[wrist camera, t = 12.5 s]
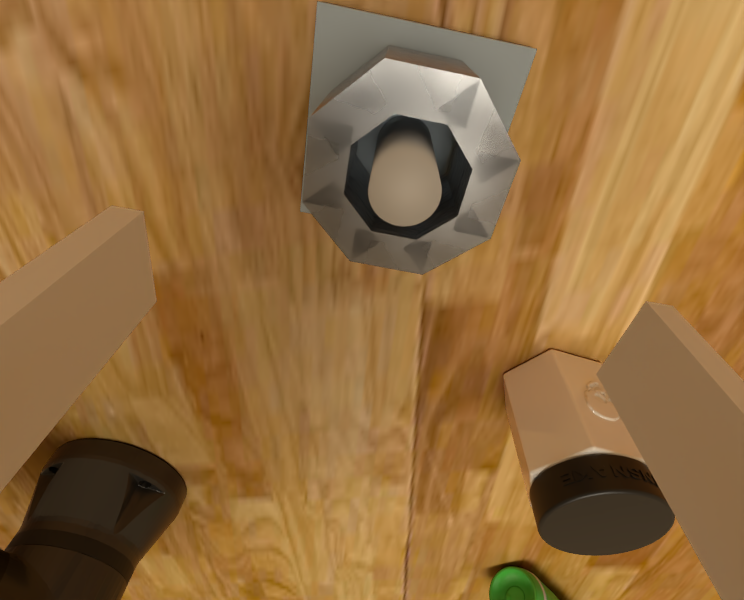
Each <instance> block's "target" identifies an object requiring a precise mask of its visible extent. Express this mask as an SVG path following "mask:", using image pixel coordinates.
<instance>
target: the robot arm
mask: <svg viewBox="0 0 744 600" xmlns="http://www.w3.org/2000/svg"><path fill="white" fill-rule="evenodd" d="M156 302H157V300H156V293H155V286H154V279H153V272H152V266H151V259H150V252H149V245H148V238H147V231H146V225H145V218H144V211H140V210H134V209H128V208H123V207H117V206H110V207H109V208H107V209H106V210H104V211H103V212H101V213H100V214H99V215H97V216H96V217H94V218H93V219H91V220H90V221H88V222H87V223H85V224H84V225H83V226H81V227H80V228H78V229H77V230H75V231H74V232H72V233H71V234H70V235H68V236H67V237H65V238H64V239H62V240H61V241H59V242H58V243H56V244H55V245H54V246H52V247H51V248H49V249H48V250H46V251H45V252H43V253H42V254H41V255H39V256H38V257H36V258H35V259H33V260H32V261H30V262H29V263H27V264H26V265H25V266H23V267H22V268H20V269H19V270H17V271H16V272H14V273H13V274H12V275H10V276H9V277H7V278H6V279H4V280H3V281H1V282H0V493H1V491H2V490H3V489H4V488H5V486H6V485H7V484H8V483H9V482H10V480H11V479H12V478H13V477H14V475H15V474H16V473H17V472H18V470H19V469H20V468H21V467H22V466H23V464H24V463H25V462H26V461H27V459H28V458H29V457H30V456H31V455H32V453H33V452H34V451H35V450H36V448H37V447H38V446H39V445H40V444H41V442H42V441H43V440H44V439H45V437H46V436H47V435H48V434H49V433H50V431H51V430H52V429H53V428H54V426H55V425H56V424H57V423H58V422H59V420H60V419H61V418H62V417H63V415H64V414H65V413H66V412H67V411H68V409H69V408H70V407H71V406H72V404H73V403H74V402H75V401H76V399H77V398H78V397H79V396H80V395H81V393H82V392H83V391H84V390H85V388H86V387H87V386H88V385H89V384H90V382H91V381H92V380H93V379H94V377H95V376H96V375H97V374H98V373H99V371H100V370H101V369H102V368H103V366H104V365H105V364H106V363H107V362H108V360H109V359H110V358H111V357H112V355H113V354H114V353H115V352H116V351H117V349H118V348H119V347H120V346H121V344H122V343H123V342H124V341H125V339H126V338H127V337H128V336H129V335H130V333H131V332H132V331H133V330H134V328H135V327H136V326H137V325H138V324H139V322H140V321H141V320H142V319H143V317H144V316H145V315H146V314H147V313H148V311H149V310H150V309H151V308H152V306H153V305H154V304H155V303H156ZM596 375H597V376H598V378H599V380H600V382H601V384H602V385H603V387H604V389H605V391H606V393H607V394H608V396H609V398H610V400H611V402H612V403H613V405H614V407H615V409H616V411H617V412H618V414H619V416H620V418H621V420H622V421H623V423H624V425H625V427H626V429H627V430H628V432H629V434H630V436H631V438H632V439H633V441H634V443H635V445H636V447H637V448H638V450H639V452H640V454H641V456H642V457H643V459H644V461H645V463H646V465H647V466H648V468H649V470H650V472H651V474H652V475H653V477H654V479H655V481H656V483H657V484H658V486H659V488H660V490H661V492H662V493H663V495H664V497H665V499H666V501H667V502H668V504H669V506H670V508H671V510H672V511H673V513H674V515H675V517H676V519H677V520H678V522H679V524H680V526H681V528H682V529H683V531H684V533H685V535H686V537H687V538H688V540H689V542H690V544H691V546H692V547H693V549H694V551H695V553H696V555H697V556H698V558H699V560H700V562H701V563H702V565H703V567H704V569H705V571H706V572H707V574H708V576H709V578H710V580H711V581H712V583H713V585H714V587H715V589H716V590H717V592H718V594H719V596H720V598H721V599H722V600H744V381H743V380H742V379H741V378H740V377H739V376H738V374H737V373H736V372H735V371H734V370H733V369H732V368H731V367H730V366H729V365H728V364H727V363H726V362H725V361H724V360H723V359H722V358H721V356H720V355H719V354H718V353H717V352H716V351H715V350H714V349H713V348H712V347H711V346H710V345H709V344H708V343H707V342H706V341H705V340H704V338H703V337H702V336H701V335H700V334H699V333H698V332H697V331H696V330H695V329H694V328H693V327H692V326H691V325H690V324H689V323H688V321H687V320H686V319H685V318H684V317H683V316H682V315H681V314H680V313H679V312H678V311H677V310H676V309H675V308H674V307H673V306H670V305H664V304H659V303H653V302H648V301H646V302H645V303H644V305H643V306H642V308H641V309H640V311H639V312H638V314H637V315H636V317H635V318H634V319H633V321H632V322H631V324H630V325H629V327H628V328H627V330H626V331H625V333H624V334H623V336H622V337H621V338H620V340H619V341H618V343H617V344H616V346H615V347H614V349H613V350H612V352H611V353H610V355H609V356H608V357H607V359H606V360H605V362H604V363H603V365H602V366H601V368H600V369H599V371H598V372H597V374H596ZM185 497H186V487H185V484H184V482H183V480H182V478H181V477H180V476H179V475H178V473H177V472H176V471H175V470H174V469H173V468H171V467H170V466H169V465H168V464H166V463H165V462H164V461H162V460H160V459H159V458H157V457H155V456H154V455H152V454H150V453H148V452H145V451H143V450H141V449H138V448H135V447H133V446H129V445H126V444H122V443H118V442H114V441H108V440H99V439H83V440H76V441H72V442H69V443H66V444H64V445H62V446H61V447H59V448H58V449H57V450H56V452H55V453H54V454H53V456H52V457H51V458H50V459H49V461H48V462H47V463H46V465H45V466H44V468H43V469H42V471H41V474H40V476H39V479H38V482H37V485H36V487H35V490H34V493H33V496H32V499H31V501H30V504H29V507H28V510H27V512H26V515H25V518H24V521H23V523H22V526H21V528H20V530H19V531H18V532H17V534H16V535H15V537H14V538H13V539H12V541H11V542H10V544H9V545H8V546H7V548H6V549H5V550H4V551H3V550H1V549H0V600H121V598H122V596H123V593H124V591H125V589H126V587H127V585H128V582H129V580H130V578H131V576H132V574H133V572H134V570H135V568H136V566H137V564H138V563H139V561H140V560H141V559H142V558H143V557H144V555H145V554H146V553H147V552H148V551H149V549H150V548H151V547H152V546H153V545H154V543H155V542H156V541H157V540H158V539H159V537H160V536H161V535H162V534H163V532H164V531H165V530H166V529H167V528H168V526H169V525H170V524H171V523H172V522H173V521H174V519H175V518H176V516H177V515H178V513H179V510H180V508H181V506H182V504H183V501H184V499H185Z"/></svg>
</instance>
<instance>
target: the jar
mask: <svg viewBox="0 0 744 600" xmlns="http://www.w3.org/2000/svg"><path fill="white" fill-rule="evenodd" d="M601 366H602V364H601V363H600V362H596V361H592V360H589V359H585V358H582V357H578V356H575V355H571V354H568V353H564V352H561V351H557V350H554V349H550V350H548V351H546V352H544V353H543V354H541V355H539V356H537V357H535V358H533V359H531V360H529V361H527V362H525V363H524V364H522V365H520V366H518V367H516V368H514V369H512V370H510V371H508V372H506V373H505V374H504V375H503V379H504V392H505V406H506V412H507V416H508V420H509V424H510V428H511V432H512V436H513V439H514V443H515V447H516V451H517V455H518V459H519V463H520V467H521V471H522V475H523V479H524V483H525V487H526V491H527V495H528V498H529V502H530V506H531V507H532V509H533V513H534V517H535V520H536V524H537V528H538V532H539V534H540V536H541V537H542V539H543V540H544V541H545V542H546V543H548V544H549V545H551V546H552V547H554V548H556V549H559V550H562V551H565V552H568V553H573V554H579V555H611V554H618V553H624V552H628V551H632V550H636V549H639V548H642V547H644V546H647V545H649V544H651V543H653V542H655V541H657V540H658V539H660V538H661V537H663V536H664V535H665V534H666V533H667V532H668V531H669V530H670V529H671V527H672V525H673V523H674V520H675V515H674V513H673V511H672V510H671V508H670V506H669V504H668V502H667V501H666V499H665V497H664V495H663V493H662V492H661V490H660V488H659V486H658V484H657V483H656V481H655V479H654V477H653V475H652V474H651V472H650V470H649V468H648V466H647V465H646V463H645V461H644V459H643V457H642V456H641V454H640V452H639V450H638V448H637V447H636V445H635V443H634V441H633V439H632V438H631V436H630V434H629V432H628V430H627V429H626V427H625V425H624V423H623V421H622V420H621V418H620V416H619V414H618V412H617V411H616V409H615V407H614V405H613V403H612V402H611V400H610V398H609V396H608V394H607V393H606V391H605V389H604V387H603V385H602V384H601V382H600V380H599V378H598V376H597V375H596V374H597V372H598V371H599V369H600V368H601Z"/></svg>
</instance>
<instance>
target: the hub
mask: <svg viewBox="0 0 744 600" xmlns="http://www.w3.org/2000/svg"><path fill="white" fill-rule="evenodd" d="M393 114H398V115H403V116H408V117H413V118H418V119H423V120H427V121H432V122H437V123H442V124H447V125H448V126H449V128H450V130H451V132H452V133H453V135H454V137H455V139H456V140H455V144H454V147H453V151H452V154H451V158H450V161H449V165H448V168H447V172H446V173H444V174H443V175H441V176H440V181H441V186H442V194H441V199H440V202H439V205H438V207H437V209H436V210H435V211H434V213H433V214H432V215H431V216H430V217H429V218H427V219H426V220H425V221H423V222H421V223H419V224H416V225H412V226H396V225H392V224H390V223H388V222H386V221H384V220H383V219H381V218H380V217H379V216H378V215H377V214H376V213H375V212H374V210H373V208H372V206H371V204H370V201H369V197H368V187H369V181H370V176H371V175H370V174H369V172H368V171H367V169H366V168H365V167H364V165H363V164H362V162H361V161H360V159H359V158H358V156H357V155H356V151H357V145H358V140H359V139H360V138H361V137H363V136H364V135H366V134H367V133H368V132H370V131H371V130H373V129H374V128H375V127H377V126H378V125H379V124H381V123H382V122H384V121H385V120H386V119H388V118H389V117H391V116H392V115H393ZM520 161H521V160H520V158H519V156H518V154H517V152H516V150H515V148H514V146H513V144H512V142H511V139H510V137H509V135H508V133H507V131H506V129H505V127H504V125H503V123H502V121H501V119H500V117H499V115H498V113H497V111H496V109H495V107H494V105H493V103H492V101H491V99H490V96H489V94H488V92H487V90H486V88H485V86H484V84H483V82H482V80H481V78H480V77H479V76H478V75H476V74H475V73H474V72H473V71H472V70H471V69H470V68H469V67H468V66H467V65H466V64H465V63H464V62H463V61H462V60H457V59H453V58H448V57H443V56H439V55H434V54H429V53H425V52H420V51H415V50H411V49H406V48H402V47H397V46H392V45H388V46H387V47H386V48H385V49H383V50H382V51H381V52H380V53H378V54H377V55H376V56H374V57H373V58H372V59H371V60H369V61H368V62H367V63H366V64H364V65H363V66H362V67H361V68H359V69H358V70H357V71H356V72H354V73H353V74H352V75H351V76H349V77H348V78H347V79H346V80H344V81H343V82H342V83H341V84H339V85H338V86H337V87H336V88H334V89H333V90H332V91H330V93H329V94H328V95H327V96H326V98H325V99H324V100H323V101H322V102H321V104H320V105H319V106H318V107H317V109H316V110H315V111H314V112H313V113H312V115H311V116H310V117H309V127H308V138H307V150H306V162H305V174H304V185H303V197H302V203H303V204H304V205H305V206H306V208H307V209H308V210H309V211H310V212H311V214H312V215H313V216H314V217H315V219H316V220H317V221H318V222H319V224H320V225H321V226H322V227H323V228H324V230H325V231H326V232H327V233H328V235H329V236H330V237H331V238H332V240H333V241H334V242H335V243H336V244H337V246H338V247H339V248H340V249H341V251H342V252H343V253H344V254H345V256H346V257H347V258H348V259H349V260H350V261H352V262H358V263H363V264H368V265H374V266H379V267H384V268H390V269H395V270H401V271H406V272H411V273H417V274H425V273H426V272H428V271H430V270H432V269H434V268H436V267H438V266H440V265H441V264H443V263H445V262H447V261H449V260H451V259H453V258H455V257H457V256H458V255H460V254H462V253H464V252H466V251H468V250H470V249H472V248H473V247H475V246H477V245H479V244H481V243H483V242H485V241H487V240H489V239H490V238H491V236H492V233H493V231H494V228H495V226H496V223H497V221H498V218H499V215H500V213H501V210H502V208H503V205H504V202H505V200H506V197H507V195H508V192H509V190H510V187H511V184H512V182H513V179H514V177H515V174H516V172H517V169H518V166H519V164H520Z"/></svg>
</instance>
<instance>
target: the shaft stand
mask: <svg viewBox="0 0 744 600" xmlns="http://www.w3.org/2000/svg"><path fill="white" fill-rule="evenodd" d="M388 45H392V46H397V47H402V48H406V49H411V50H415V51H420V52H425V53H429V54H434V55H439V56H443V57H448V58H453V59H457V60H462V61H463V62H464V63H465V64H466V65H467V66H468V67H469V68H470V69H471V70H472V71H473V72H474V73H475V74H476V75H478V76H479V77H480V78H481V80H482V82H483V84H484V86H485V88H486V90H487V92H488V94H489V96H490V99H491V101H492V103H493V105H494V107H495V109H496V111H497V113H498V115H499V117H500V119H501V121H502V123H503V125H504V127H505V129H506V131H507V133H508V130H509V128H510V125H511V122H512V119H513V116H514V113H515V111H516V108H517V105H518V102H519V99H520V96H521V94H522V91H523V88H524V85H525V82H526V79H527V77H528V74H529V71H530V68H531V65H532V62H533V60H534V57H535V54H536V51H537V49H535V48H532V47H529V46H524V45H520V44H515V43H511V42H506V41H501V40H497V39H492V38H488V37H483V36H478V35H474V34H469V33H465V32H460V31H455V30H451V29H446V28H442V27H437V26H432V25H428V24H423V23H419V22H414V21H409V20H405V19H400V18H396V17H391V16H386V15H382V14H377V13H373V12H368V11H363V10H359V9H354V8H350V7H345V6H340V5H336V4H331V3H327V2H320V1H317V12H316V24H315V37H314V49H313V61H312V73H311V86H310V98H309V110H308V122H307V135H306V147H305V159H304V172H303V184H302V196H301V208H300V212H305V213H311V212H310V211H309V210H308V209H307V208H306V206H305V205H304V204H303V203H302V197H303V185H304V174H305V162H306V150H307V138H308V127H309V117H310V116H311V115H312V113H313V112H314V111H315V110H316V109H317V107H318V106H319V105H320V104H321V102H322V101H323V100H324V99H325V98H326V96H327V95H328V94H329V93H330V91H332V90H333V89H334V88H336V87H337V86H338V85H339V84H341V83H342V82H343V81H344V80H346V79H347V78H348V77H349V76H351V75H352V74H353V73H354V72H356V71H357V70H358V69H359V68H361V67H362V66H363V65H364V64H366V63H367V62H368V61H369V60H371V59H372V58H373V57H374V56H376V55H377V54H378V53H380V52H381V51H382V50H383V49H385V48H386V47H387V46H388ZM455 140H456V139H455V137H454V135H453V133H452V132H451V130H450V128H449V126H448V125H447V124H442V123H437V122H432V121H427V120H423V119H418V118H413V117H408V116H403V115H398V114H393V115H392V116H391V117H389V118H388V119H386V120H385V121H384V122H382V123H381V124H379V125H378V126H377V127H375V128H374V129H373V130H371V131H370V132H368V133H367V134H366V135H364V136H363V137H361V138H360V139H359V140H358V145H357V151H356V155H357V156H358V158H359V159H360V161H361V162H362V164H363V165H364V167H365V168H366V169H367V171H368V172H369V174H370V175H371V176H370V181H369V187H368V197H369V201H370V204H371V206H372V208H373V210H374V212H375V213H376V214H377V215H378V216H379V217H380V218H381V219H383V220H384V221H386V222H388V223H390V224H392V225H396V226H412V225H416V224H419V223H421V222H423V221H425V220H426V219H427V218H429V217H430V216H431V215H432V214H433V213H434V211H435V210H436V209H437V207H438V205H439V202H440V199H441V194H442V186H441V181H440V176H441V175H443V174H444V173H446V172H447V168H448V165H449V161H450V158H451V154H452V151H453V147H454V144H455Z"/></svg>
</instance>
